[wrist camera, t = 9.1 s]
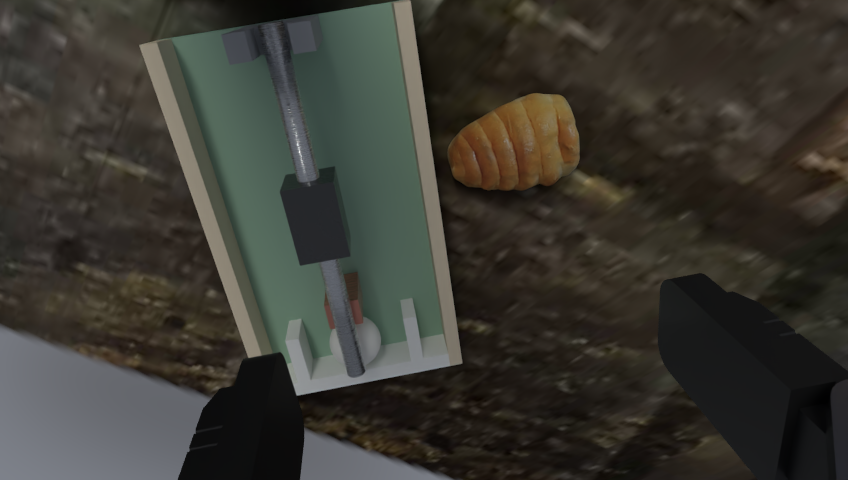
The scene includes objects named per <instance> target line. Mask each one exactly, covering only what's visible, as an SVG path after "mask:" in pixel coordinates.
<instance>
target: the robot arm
mask: <svg viewBox="0 0 848 480" xmlns="http://www.w3.org/2000/svg"><path fill="white" fill-rule="evenodd" d="M658 346H659V351H660V355H661V358H662V360H663V363H664V365H665V366H666V368H667V369H668V371H669V372H670V373H671V374H672V376H673V377H674V378H675V379H676V381H677V382H678V383H679V384H680V385H681V387H682V388H683V389H684V390H685V391H686V393H687V394H688V395H689V396H690V398H691V399H692V400H693V401H694V402H695V404H696V405H697V406H698V407H699V408H700V410H701V411H702V412H703V413H704V415H705V416H706V417H707V418H708V419H709V421H710V422H711V423H712V424H713V425H714V427H715V428H716V429H717V430H718V432H719V433H720V434H721V435H722V436H723V438H724V439H725V440H726V441H727V442H728V444H729V445H730V446H731V447H732V449H733V450H734V451H735V452H736V453H737V455H738V456H739V457H740V458H741V459H742V461H743V462H744V463H745V464H746V466H747V467H748V468H749V469H750V470H751V472H752V473H753V474H754V475H755V476H756V478H757V479H758V480H848V371H847V370H845V369H844V368H843V367H842V366H840V365H839V364H838V363H836V362H835V361H834V360H833V359H831V358H830V357H829V356H827V355H826V354H825V353H824V352H822V351H821V350H820V349H818V348H817V347H816V346H815V345H813V344H812V343H811V342H809V341H808V340H807V339H805V338H804V337H803V336H802V335H800V334H796V333H795V330H794V329H793V328H791V327H790V326H789V325H787V324H786V323H785V322H784V321H779V318H778V317H777V316H776V315H774V314H773V313H772V312H771V311H769V310H768V309H767V308H765V307H764V306H763V305H762V304H760V303H759V302H757V301H754V300H752V299H749V298H747V297H745V296H742V295H740V294H738V293H735V292H728V293H727V292H726V291H725V290H723V289H722V288H721V287H720V286H719V285H717V284H716V283H715V282H714V281H712V280H711V279H710V278H709V277H707V276H706V275H704V274H702V273H699V274H694V275H688V276H683V277H678V278H672V279H667V280H665V281H663V283H662V285H661V288H660V306H659V328H658ZM303 446H304V423H303V417H302V412H301V408H300V405H299V402H298V398H297V395H296V392H295V389H294V386H293V383H292V379H291V376H290V373H289V370H288V367H287V363H286V360H285V358H284V356H283V354H282V353H281V352H277V353H272V354H267V355H261V356H256V357H251V358H245V359H243V361H242V363H241V366H240V369H239V372H238V376H237V379H236V382H235V386H232V387H226V388H221V389H219V390H218V392H217V393H216V394H215V395H214V396H213V398H212V399H211V400H210V401H209V402H208V404H207V405H206V406H205V407H204V408H203V410H202V413H201V416H200V419H199V422H198V424H197V427H196V434H194V435H193V438H192V441H191V444H190V447H189V448H190V451H189V452H187V455H186V458H185V461H184V463H183V466H182V469H181V472H180V475H179V477H178V480H300V474H301V464H302V455H303Z"/></svg>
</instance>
